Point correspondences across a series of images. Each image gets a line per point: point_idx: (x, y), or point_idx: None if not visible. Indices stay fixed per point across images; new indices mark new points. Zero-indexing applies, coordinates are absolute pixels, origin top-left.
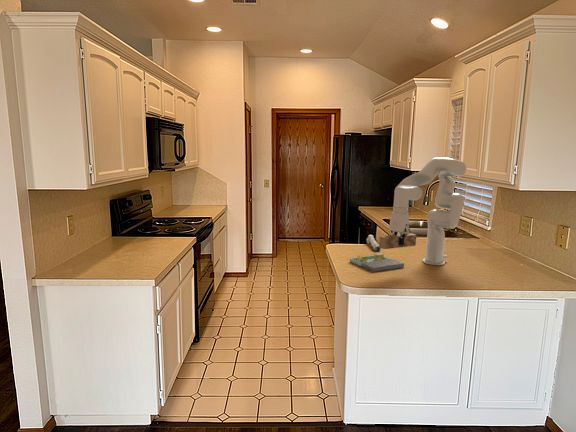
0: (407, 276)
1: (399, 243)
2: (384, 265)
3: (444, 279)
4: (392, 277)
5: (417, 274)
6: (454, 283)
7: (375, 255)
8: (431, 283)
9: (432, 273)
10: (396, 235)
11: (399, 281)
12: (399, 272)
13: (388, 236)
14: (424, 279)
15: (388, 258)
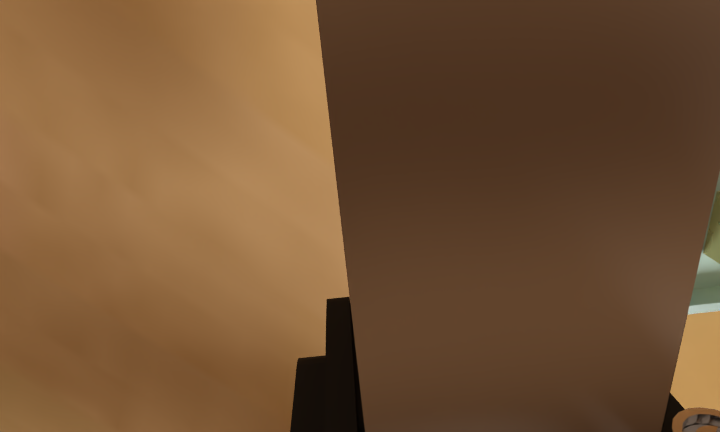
0: (250, 191)
1: (326, 323)
2: None
3: (116, 409)
4: (259, 21)
5: (278, 305)
6: (15, 415)
7: None
8: (29, 264)
9: (270, 417)
10: None
11: (120, 7)
12: None
13: (543, 35)
14: (141, 276)
15: (690, 305)
